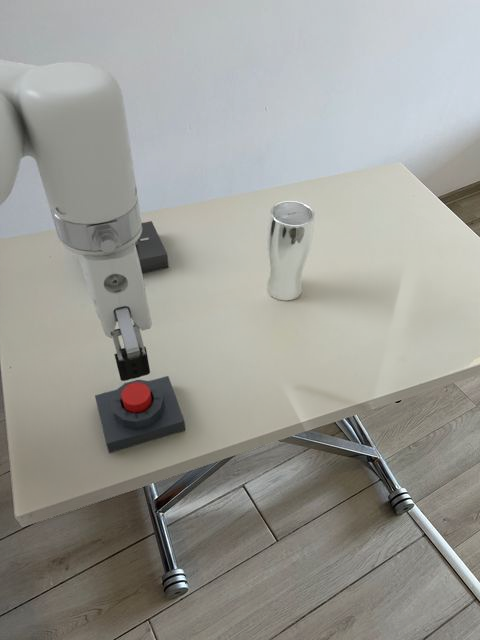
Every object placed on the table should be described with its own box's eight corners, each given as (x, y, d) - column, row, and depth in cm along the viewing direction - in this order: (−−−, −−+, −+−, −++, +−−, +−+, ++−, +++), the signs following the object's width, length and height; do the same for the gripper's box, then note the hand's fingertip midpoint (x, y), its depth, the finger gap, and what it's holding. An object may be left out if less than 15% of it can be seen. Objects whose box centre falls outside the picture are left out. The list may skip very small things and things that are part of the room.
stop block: (109, 453, 67) (103, 436, 64) (97, 404, 72) (92, 386, 69) (185, 430, 70) (183, 413, 67) (169, 385, 75) (167, 367, 72)
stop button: (126, 416, 67) (124, 408, 66) (120, 394, 69) (118, 386, 68) (154, 408, 68) (153, 400, 67) (148, 387, 70) (146, 379, 69)
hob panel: (92, 284, 88) (88, 269, 86) (81, 249, 94) (77, 234, 92) (168, 267, 92) (167, 253, 89) (153, 234, 98) (151, 220, 95)
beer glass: (258, 296, 88) (262, 220, 77) (271, 271, 92) (277, 195, 81) (298, 307, 87) (309, 231, 76) (309, 281, 91) (321, 205, 80)
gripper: (163, 267, 44) (178, 392, 56) (119, 163, 54) (140, 289, 67) (70, 287, 42) (107, 413, 54) (42, 175, 52) (79, 303, 65)
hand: (125, 344), depth 61 cm, fingers open, 9 cm apart
